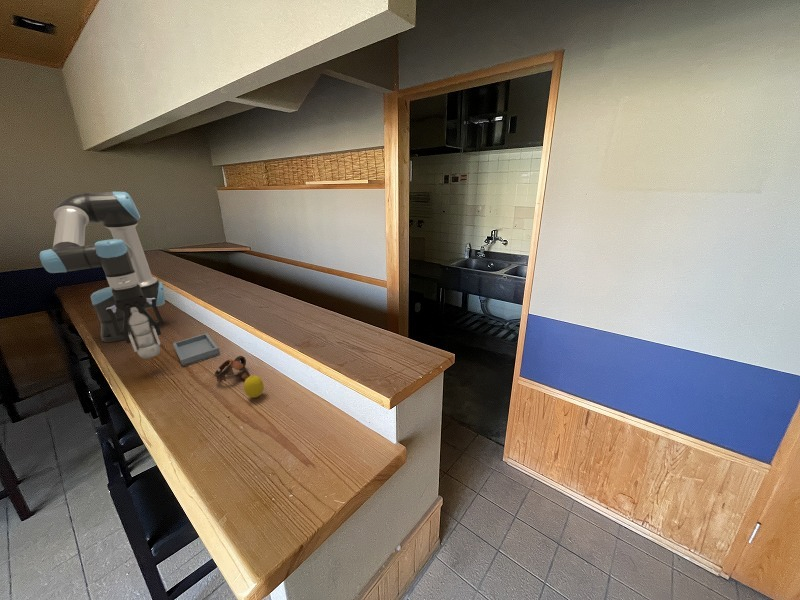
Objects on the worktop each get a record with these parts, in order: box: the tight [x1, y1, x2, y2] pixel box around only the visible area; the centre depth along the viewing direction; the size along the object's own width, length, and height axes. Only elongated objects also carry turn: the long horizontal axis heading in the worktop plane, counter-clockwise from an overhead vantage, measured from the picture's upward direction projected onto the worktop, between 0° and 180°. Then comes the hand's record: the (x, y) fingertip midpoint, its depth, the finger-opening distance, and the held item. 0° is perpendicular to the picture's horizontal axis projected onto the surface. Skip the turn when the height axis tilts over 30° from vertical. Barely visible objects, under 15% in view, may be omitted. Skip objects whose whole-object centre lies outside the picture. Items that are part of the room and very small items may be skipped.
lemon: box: [243, 375, 265, 398], centre depth 100 cm, size 6×6×8 cm
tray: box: [172, 332, 221, 368], centre depth 132 cm, size 20×13×3 cm, turn 42°
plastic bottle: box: [128, 306, 161, 360], centre depth 113 cm, size 6×7×20 cm
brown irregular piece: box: [213, 355, 250, 382], centre depth 113 cm, size 12×10×8 cm
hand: (147, 346), depth 115 cm, fingers closed on plastic bottle, 6 cm apart
